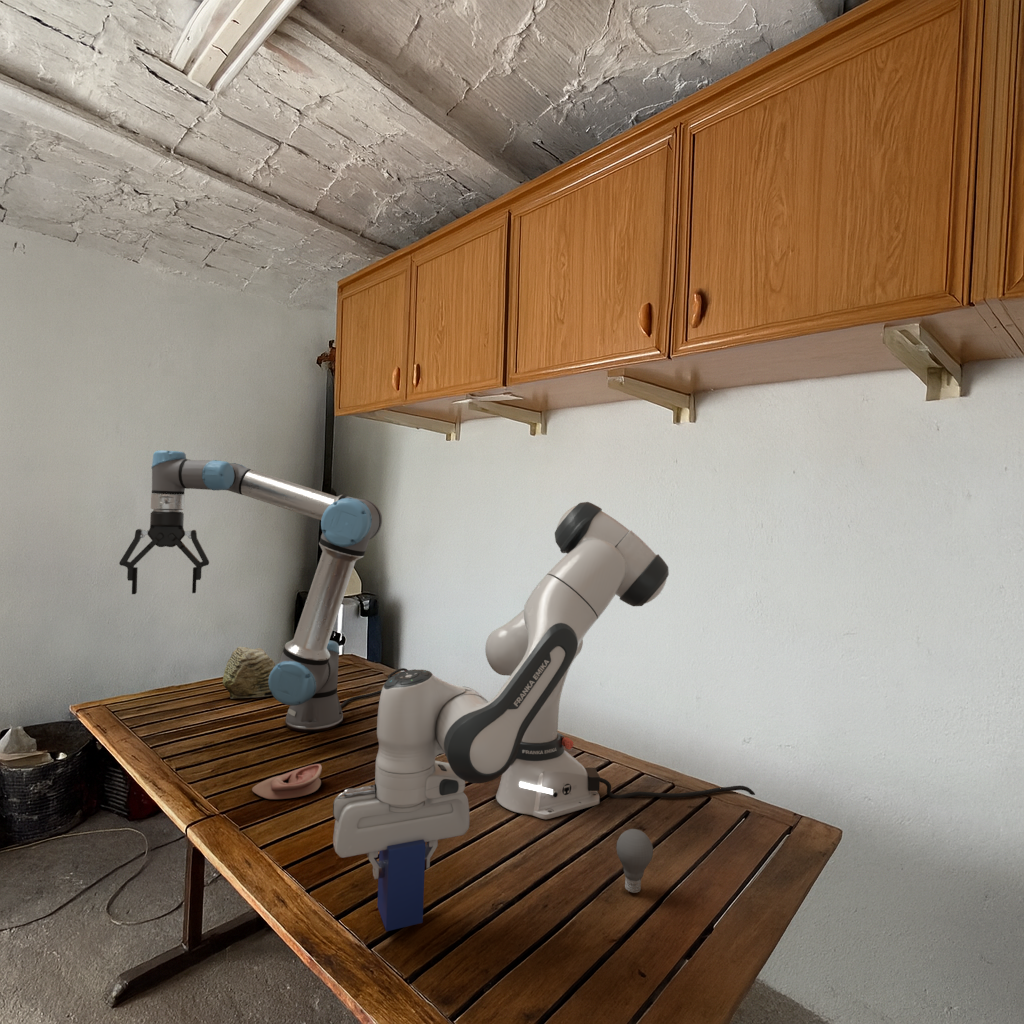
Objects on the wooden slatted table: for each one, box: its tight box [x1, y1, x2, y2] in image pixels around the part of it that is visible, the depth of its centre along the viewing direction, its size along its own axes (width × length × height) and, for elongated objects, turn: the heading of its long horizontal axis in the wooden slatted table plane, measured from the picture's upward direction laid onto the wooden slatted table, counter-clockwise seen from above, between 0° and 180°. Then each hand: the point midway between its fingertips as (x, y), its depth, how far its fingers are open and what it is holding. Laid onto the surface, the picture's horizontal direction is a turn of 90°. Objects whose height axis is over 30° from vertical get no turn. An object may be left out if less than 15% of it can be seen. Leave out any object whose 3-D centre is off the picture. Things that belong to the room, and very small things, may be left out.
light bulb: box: [615, 828, 654, 894], centre depth 106 cm, size 6×6×10 cm
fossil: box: [222, 646, 277, 699], centre depth 198 cm, size 9×18×15 cm, turn 132°
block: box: [377, 840, 426, 932], centre depth 95 cm, size 6×6×12 cm
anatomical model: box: [251, 763, 323, 800], centre depth 137 cm, size 13×4×12 cm
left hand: (164, 593), depth 163 cm, fingers open, 13 cm apart
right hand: (401, 871), depth 95 cm, fingers closed on block, 5 cm apart
